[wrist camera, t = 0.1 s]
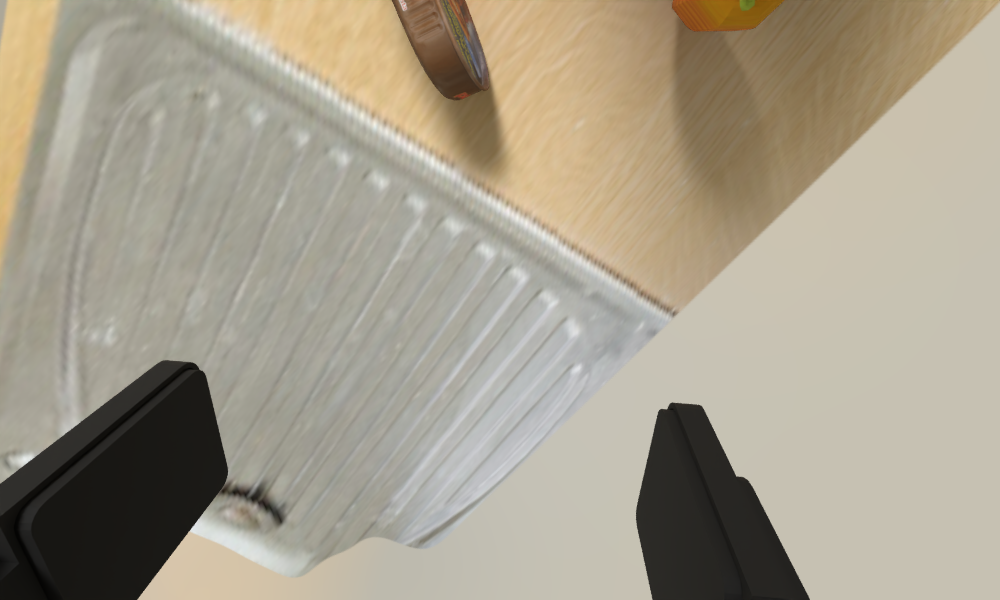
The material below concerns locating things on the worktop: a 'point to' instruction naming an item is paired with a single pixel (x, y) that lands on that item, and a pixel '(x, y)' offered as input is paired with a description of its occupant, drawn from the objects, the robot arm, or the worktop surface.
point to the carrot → (723, 13)
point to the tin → (445, 45)
